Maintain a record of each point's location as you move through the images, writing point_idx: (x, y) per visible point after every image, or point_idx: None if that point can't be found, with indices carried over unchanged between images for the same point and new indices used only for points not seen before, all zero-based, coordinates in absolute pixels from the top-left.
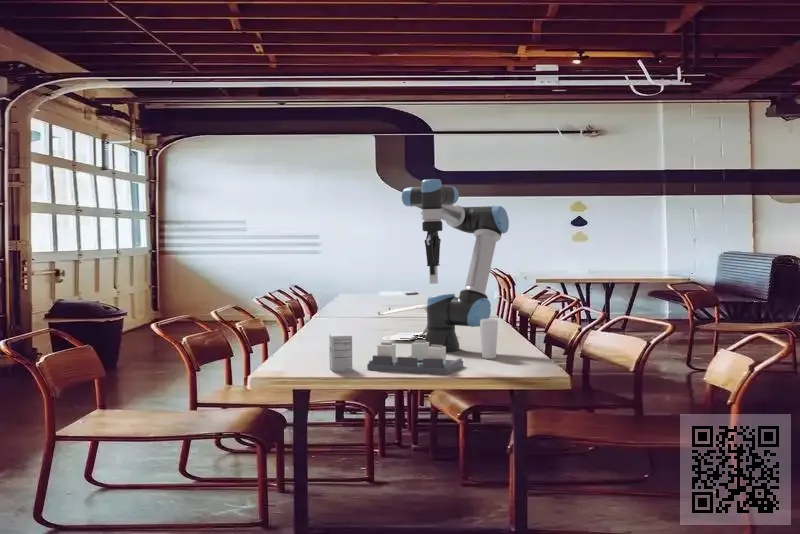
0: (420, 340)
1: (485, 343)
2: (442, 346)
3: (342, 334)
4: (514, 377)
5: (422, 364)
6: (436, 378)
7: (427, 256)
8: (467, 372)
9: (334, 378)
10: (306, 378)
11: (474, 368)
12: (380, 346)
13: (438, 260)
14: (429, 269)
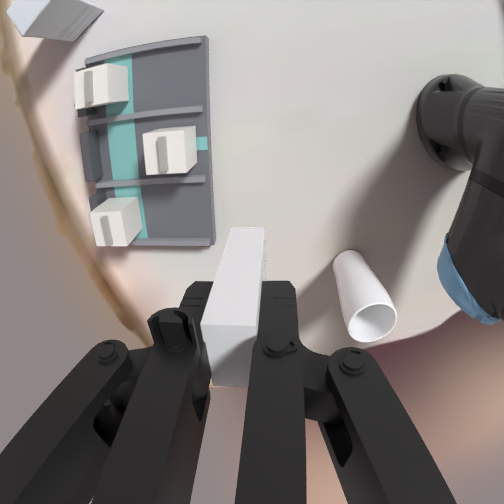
0: (161, 155)
1: (338, 280)
2: (124, 238)
3: (30, 5)
4: (150, 339)
5: (106, 186)
6: (75, 232)
7: (37, 424)
8: (151, 266)
9: (11, 72)
10: (3, 36)
11: (200, 267)
12: (75, 81)
13: (331, 436)
14: (209, 298)
